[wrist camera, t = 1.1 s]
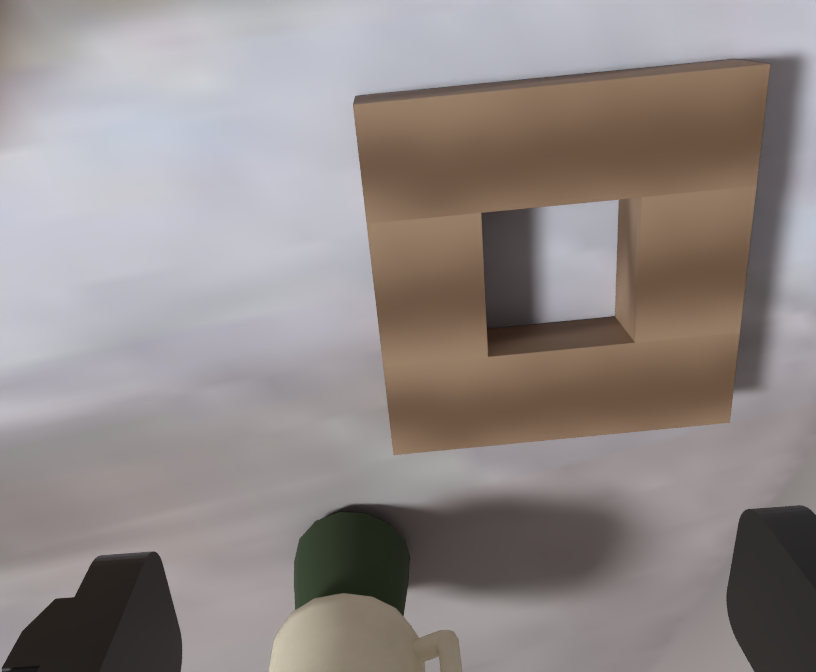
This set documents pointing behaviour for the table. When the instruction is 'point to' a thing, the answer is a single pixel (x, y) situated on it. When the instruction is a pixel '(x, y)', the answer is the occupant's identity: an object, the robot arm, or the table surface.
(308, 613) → the character mug
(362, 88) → the table surface
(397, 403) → the walnut bottle holder
